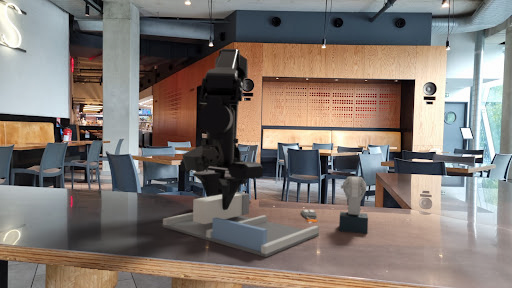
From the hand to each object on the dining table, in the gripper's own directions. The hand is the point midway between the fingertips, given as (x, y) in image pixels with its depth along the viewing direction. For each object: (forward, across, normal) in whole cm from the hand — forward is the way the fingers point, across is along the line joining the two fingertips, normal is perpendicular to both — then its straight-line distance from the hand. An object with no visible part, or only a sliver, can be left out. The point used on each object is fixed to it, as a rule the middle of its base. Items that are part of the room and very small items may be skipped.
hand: (218, 208), depth 78 cm
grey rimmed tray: (+4, +6, 0) cm, 7 cm away
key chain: (+4, +11, +19) cm, 22 cm away
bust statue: (+4, +22, +17) cm, 28 cm away
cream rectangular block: (+2, 0, 0) cm, 2 cm away
